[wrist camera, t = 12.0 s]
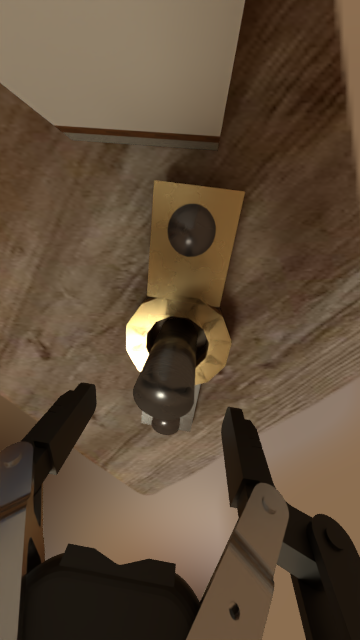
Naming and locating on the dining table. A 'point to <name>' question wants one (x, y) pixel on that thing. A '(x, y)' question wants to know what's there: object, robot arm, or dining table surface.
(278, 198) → the dining table surface
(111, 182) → the dining table surface
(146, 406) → the pin
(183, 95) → the beige rectangular tower
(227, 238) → the tan piece
